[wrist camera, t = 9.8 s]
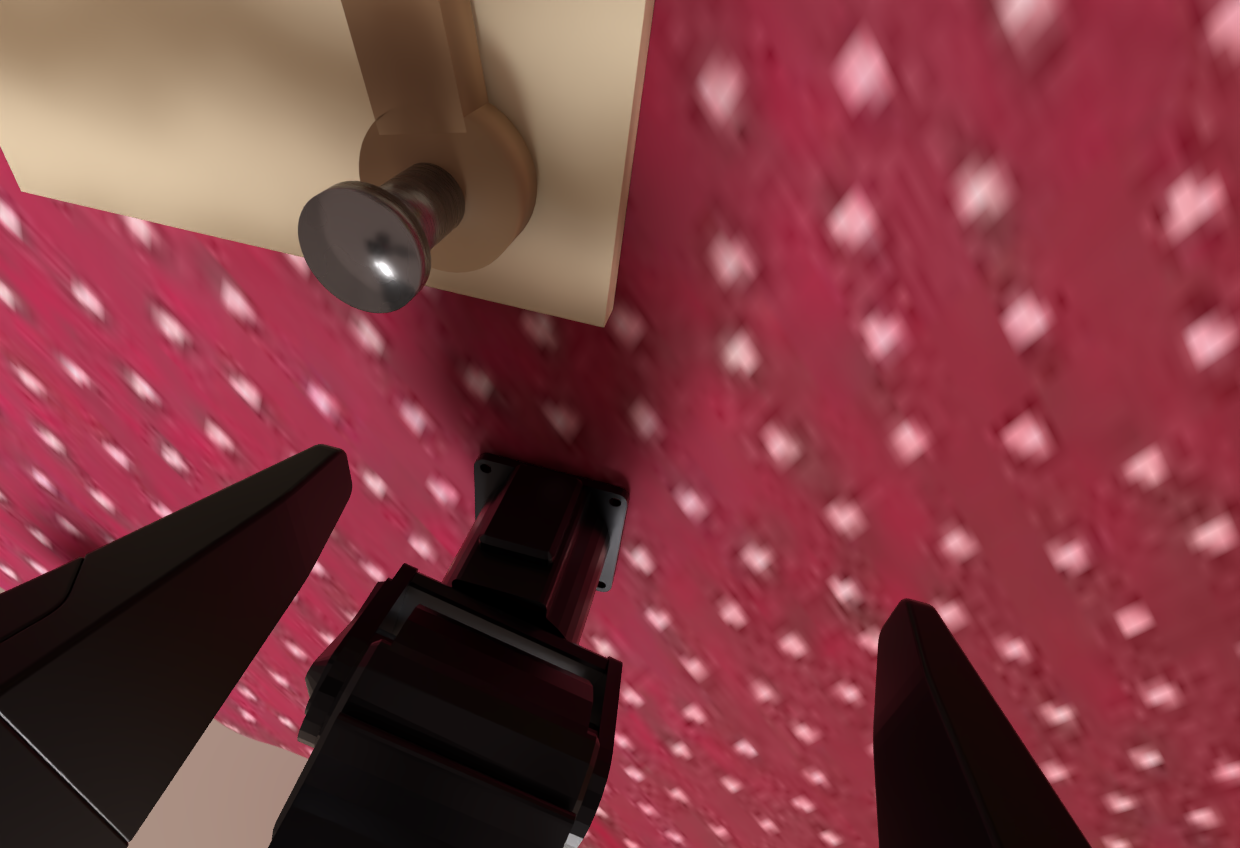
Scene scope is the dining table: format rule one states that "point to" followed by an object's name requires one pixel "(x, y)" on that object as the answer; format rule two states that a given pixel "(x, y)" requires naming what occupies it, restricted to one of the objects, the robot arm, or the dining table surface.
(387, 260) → the knob
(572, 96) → the base plate
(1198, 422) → the dining table surface
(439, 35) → the link
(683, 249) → the dining table surface
